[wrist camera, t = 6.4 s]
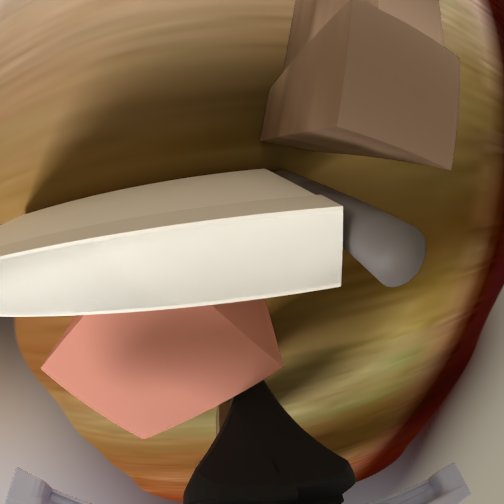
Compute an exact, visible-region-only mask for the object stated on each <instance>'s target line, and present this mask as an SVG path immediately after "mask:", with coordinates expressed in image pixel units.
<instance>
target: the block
mask: <svg viewBox="0 0 504 504" xmlns="http://www.w3.org/2000/svg"><path fill="white" fill-rule="evenodd" d="M283 367H284V366H283V362H282V359H281V355H280V351H279V348H278V344H277V340H276V337H275V333H274V329H273V326H272V322H271V319H270V315H269V311H268V308H267V304H266V300H265V298H263V299H255V300H248V301H240V302H231V303H223V304H214V305H205V306H196V307H186V308H176V309H165V310H153V311H140V312H126V313H111V314H93V315H76V316H75V317H74V319H73V320H72V322H71V323H70V324H69V326H68V327H67V329H66V330H65V332H64V333H63V335H62V336H61V338H60V339H59V341H58V342H57V344H56V345H55V347H54V348H53V350H52V351H51V353H50V354H49V356H48V357H47V359H46V361H45V362H44V364H43V366H42V367H41V369H42V370H43V371H44V372H45V373H46V374H47V375H49V376H50V377H51V378H52V379H53V380H55V381H56V382H57V383H58V384H59V385H61V386H62V387H63V388H65V389H66V390H67V391H68V392H70V393H71V394H72V395H74V396H75V397H76V398H78V399H79V400H80V401H82V402H83V403H85V404H86V405H88V406H89V407H90V408H92V409H93V410H95V411H96V412H98V413H99V414H101V415H102V416H104V417H106V418H107V419H109V420H110V421H112V422H114V423H115V424H117V425H119V426H120V427H122V428H124V429H125V430H127V431H129V432H131V433H132V434H134V435H136V436H138V437H140V438H142V439H146V438H148V437H151V436H153V435H156V434H158V433H160V432H163V431H165V430H167V429H170V428H172V427H174V426H176V425H178V424H181V423H183V422H185V421H187V420H189V419H191V418H193V417H195V416H198V415H200V414H202V413H204V412H206V411H208V410H210V409H212V408H213V407H215V406H217V405H219V404H221V403H223V402H225V401H227V400H229V399H231V398H232V397H234V396H236V395H238V394H240V393H241V392H243V391H245V390H247V389H248V388H250V387H252V386H254V385H255V384H257V383H259V382H260V381H262V380H264V379H265V378H267V377H269V376H270V375H272V374H274V373H275V372H277V371H278V370H280V369H282V368H283Z"/></svg>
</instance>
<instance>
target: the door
mask: <svg viewBox="0 0 504 504" xmlns="http://www.w3.org/2000/svg"><path fill="white" fill-rule="evenodd" d="M342 250H343V206H342V205H340V204H338V203H336V202H334V201H332V200H331V199H329V198H327V197H325V196H323V195H315V194H313V193H311V192H309V191H308V190H306V189H304V188H302V187H300V186H298V185H296V184H294V183H292V182H290V181H289V180H287V179H285V178H283V177H281V176H279V175H277V174H275V173H273V172H271V171H269V170H267V169H254V170H244V171H235V172H226V173H218V174H210V175H203V176H196V177H189V178H182V179H176V180H170V181H164V182H158V183H152V184H147V185H142V186H136V187H131V188H126V189H122V190H117V191H112V192H108V193H103V194H99V195H94V196H90V197H86V198H82V199H78V200H74V201H70V202H66V203H62V204H59V205H55V206H51V207H48V208H44V209H41V210H38V211H34V212H31V213H28V214H25V215H21V216H18V217H16V218H14V219H12V220H10V221H8V222H6V223H4V224H2V225H0V316H8V317H10V316H11V317H24V316H70V315H93V314H111V313H126V312H140V311H153V310H165V309H176V308H186V307H196V306H205V305H214V304H223V303H231V302H240V301H248V300H255V299H263V298H270V297H277V296H284V295H291V294H298V293H304V292H310V291H317V290H323V289H329V288H335V287H341V274H342Z"/></svg>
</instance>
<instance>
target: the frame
mask: <svg viewBox="0 0 504 504" xmlns="http://www.w3.org/2000/svg"><path fill="white" fill-rule="evenodd" d="M459 90H460V62H459V57H458V56H456V55H455V54H454V53H452V52H451V51H450V50H448V49H447V48H445V47H444V46H443V40H442V25H441V14H440V6H439V0H296V2H295V8H294V14H293V19H292V25H291V31H290V36H289V42H288V48H287V53H286V59H285V65H284V70H283V73H282V74H281V75H280V77H279V78H278V79H277V80H276V81H275V83H274V84H273V85H272V86H271V88H270V89H269V92H268V98H267V103H266V109H265V114H264V120H263V126H262V132H261V137H260V141H264V142H269V143H275V144H280V145H285V146H290V147H295V148H300V149H304V150H309V151H314V152H328V153H340V154H351V155H360V156H368V157H376V158H384V159H391V160H398V161H404V162H410V163H416V164H421V165H427V166H432V167H437V168H442V169H447V170H451V167H452V162H453V155H454V148H455V141H456V133H457V123H458V110H459ZM273 173H275V174H277V175H279V176H281V177H283V178H285V179H287V180H289V181H290V182H292V183H294V184H296V185H298V186H300V187H302V188H304V189H306V190H308V191H309V192H311V193H313V194H315V195H323V196H325V197H327V198H329V199H331V200H332V201H334V202H336V203H338V204H340V205H342V206H343V248H344V249H346V250H347V251H348V252H349V253H350V254H351V255H352V256H353V257H354V258H355V259H356V260H358V261H359V262H360V263H361V264H362V265H363V266H364V267H365V268H366V269H367V270H368V271H369V272H370V273H371V274H372V275H374V276H375V277H376V278H377V279H378V280H379V281H380V282H381V283H382V284H384V285H385V286H388V287H398V286H401V285H403V284H405V283H407V282H408V281H410V280H411V279H412V278H413V277H414V276H415V275H416V274H417V272H418V271H419V269H420V268H421V266H422V263H423V261H424V258H425V252H426V244H425V239H424V237H423V235H422V233H421V232H420V230H418V229H417V228H416V227H414V226H412V225H410V224H408V223H406V222H404V221H402V220H400V219H398V218H396V217H394V216H392V215H390V214H388V213H386V212H384V211H381V210H379V209H377V208H375V207H373V206H371V205H369V204H366V203H364V202H362V201H360V200H357V199H355V198H353V197H351V196H348V195H346V194H344V193H341V192H339V191H337V190H334V189H332V188H329V187H327V186H325V185H322V184H320V183H317V182H315V181H312V180H310V179H307V178H304V177H302V176H299V175H297V174H294V173H291V172H289V171H286V170H283V169H278V170H276V171H274V172H273ZM230 407H231V405H230V401H225V402H223V403H221V404H219V405H218V408H217V415H216V437H217V435H218V433H219V431H220V429H221V427H222V425H223V423H224V421H225V419H226V417H227V414H228V412H229V410H230Z"/></svg>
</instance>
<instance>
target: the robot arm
mask: <svg viewBox="0 0 504 504" xmlns="http://www.w3.org/2000/svg"><path fill="white" fill-rule="evenodd" d="M230 405H231V407H230V410H229V412H228V414H227V417H226V419H225V421H224V423H223V425H222V427H221V429H220V431H219V433H218V435H217V437H216V439H215V440H214V442H213V444H212V445H211V447H210V448H209V450H208V452H207V453H206V455H205V456H204V458H203V459H202V460H201V462H200V463H199V464H198V465H197V467H196V469H195V471H194V473H193V475H192V477H191V479H190V481H189V483H188V485H187V487H186V489H185V491H184V496H183V504H341V503H342V502H344V499H343V496H342V494H343V493H344V492H346V491H347V490H348V489H350V488H351V487H352V486H353V485H354V484H355V482H356V478H355V475H354V472H353V470H352V468H351V466H350V464H349V462H348V461H347V460H345V459H344V458H342V457H340V456H339V455H337V454H335V453H333V452H332V451H330V450H329V449H327V448H326V447H324V446H323V445H322V444H320V443H319V442H318V441H316V440H315V439H314V438H313V437H312V436H310V435H309V434H308V433H307V432H306V431H305V430H303V429H302V428H301V427H300V426H299V425H298V424H297V423H296V422H295V421H294V420H293V419H292V418H291V417H290V415H289V414H288V413H287V412H286V411H285V410H284V408H283V407H282V406H281V405H280V403H279V402H278V401H277V399H276V398H275V397H274V395H273V394H272V392H271V391H270V389H269V388H268V386H267V385H266V383H265V381H264V380H262V381H260V382H259V383H257V384H255V385H254V386H252V387H250V388H248V389H247V390H245V391H243V392H241V393H240V394H238V395H236V396H234V397H232V398H231V399H230ZM470 495H471V492H470V490H469V488H468V486H467V484H466V483H465V481H464V479H463V477H462V475H461V473H460V472H459V470H458V468H457V466H456V465H455V463H452V464H450V465H448V466H446V467H444V468H442V469H441V470H439V471H437V472H436V473H435V474H433V475H432V476H431V477H429V479H427V480H425V481H423V482H421V483H419V484H417V485H415V486H412V487H410V488H408V489H406V490H403V491H401V492H399V493H396V494H393V495H391V496H388V497H385V498H383V499H380V500H377V501H374V502H371V503H368V504H459V503H461V502H462V501H463V500H465V499H466V498H468V497H469V496H470ZM5 504H92V503H88V502H85V501H82V500H80V499H77V498H74V497H72V496H69V495H67V494H64V493H62V492H60V491H57V490H55V489H53V488H51V487H50V486H49V485H48V484H47V483H46V482H44V481H43V480H41V479H39V478H37V477H35V476H33V475H31V474H30V473H28V472H26V471H24V470H22V469H20V468H16V471H15V473H14V476H13V480H12V482H11V486H10V489H9V492H8V496H7V500H6V503H5Z"/></svg>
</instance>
